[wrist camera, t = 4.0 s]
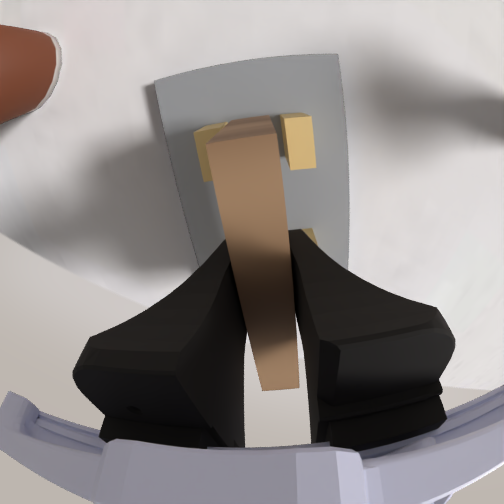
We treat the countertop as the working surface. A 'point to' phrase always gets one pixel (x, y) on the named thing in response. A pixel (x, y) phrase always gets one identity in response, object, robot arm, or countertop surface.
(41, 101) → the coffee cup
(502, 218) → the countertop surface
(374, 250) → the countertop surface
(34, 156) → the countertop surface
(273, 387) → the door panel
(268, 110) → the hinge board
